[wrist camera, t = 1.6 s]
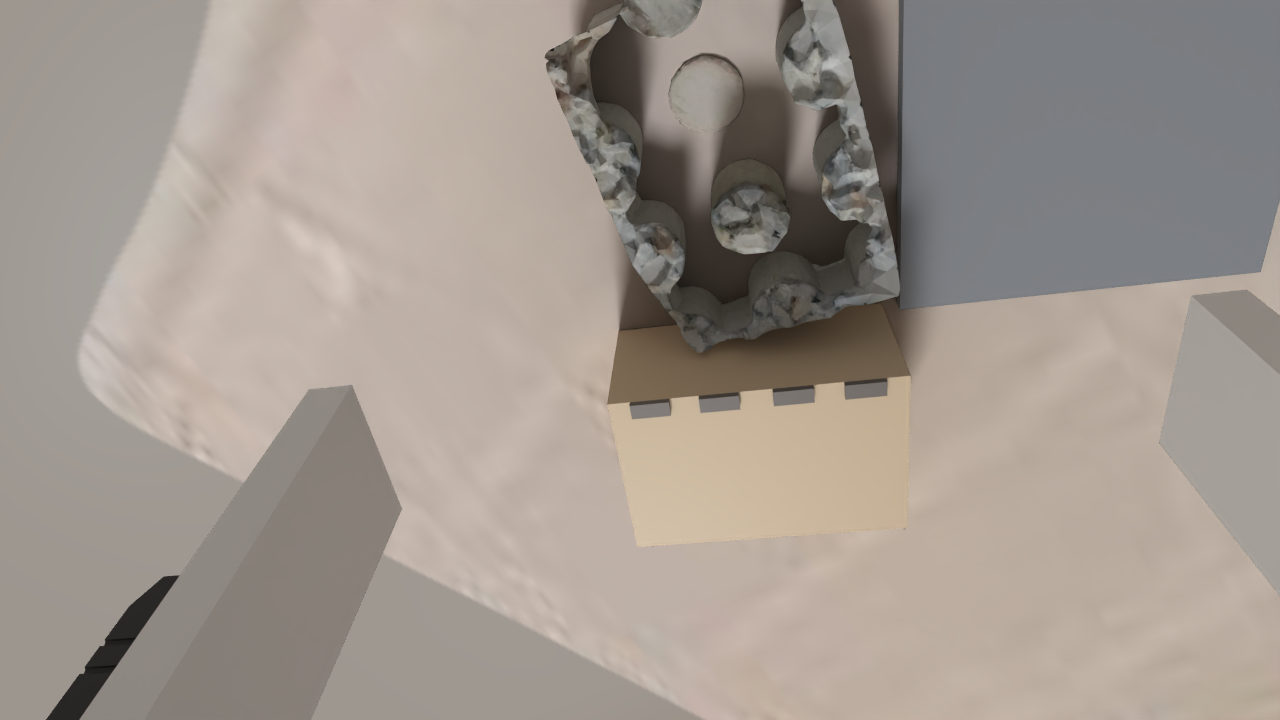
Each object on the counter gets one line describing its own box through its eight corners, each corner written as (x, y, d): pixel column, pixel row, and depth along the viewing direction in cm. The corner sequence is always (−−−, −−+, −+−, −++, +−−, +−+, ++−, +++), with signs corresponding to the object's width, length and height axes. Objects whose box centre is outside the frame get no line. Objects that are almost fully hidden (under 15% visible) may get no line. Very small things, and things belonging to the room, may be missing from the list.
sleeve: (880, 302, 28) (912, 379, 24) (880, 443, 31) (908, 532, 27) (618, 330, 29) (606, 408, 25) (644, 463, 32) (637, 551, 28)
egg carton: (549, 16, 24) (524, 43, 20) (803, -89, 22) (822, -78, 19) (673, 321, 29) (670, 384, 25) (888, 255, 27) (916, 314, 24)
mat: (1388, -282, 19) (1407, -286, 19) (1249, 263, 26) (1260, 272, 26) (900, -194, 20) (906, -195, 20) (896, 301, 28) (899, 310, 27)
